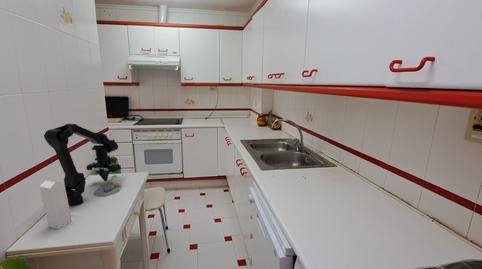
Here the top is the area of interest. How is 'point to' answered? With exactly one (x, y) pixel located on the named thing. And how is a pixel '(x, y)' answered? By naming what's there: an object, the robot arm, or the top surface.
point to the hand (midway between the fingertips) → (105, 181)
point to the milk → (55, 203)
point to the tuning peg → (115, 182)
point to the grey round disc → (101, 192)
